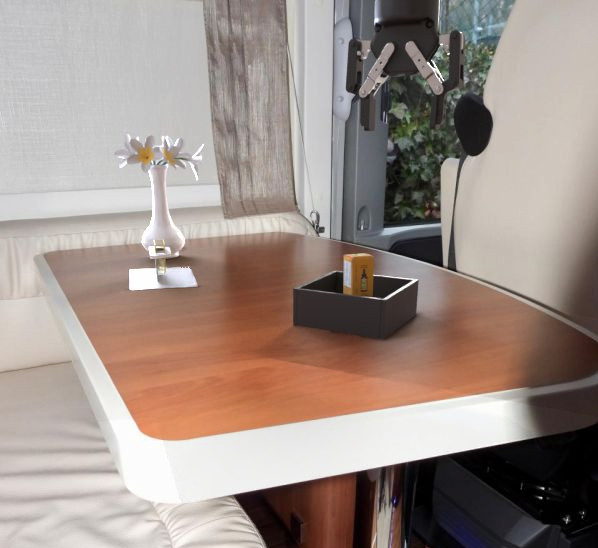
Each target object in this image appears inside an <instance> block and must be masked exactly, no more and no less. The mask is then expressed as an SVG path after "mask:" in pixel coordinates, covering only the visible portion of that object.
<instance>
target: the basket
mask: <svg viewBox="0 0 598 548" xmlns="http://www.w3.org/2000/svg"><path fill="white" fill-rule="evenodd" d="M419 281H420V280H419V279H416V278H409V277H407V278H406V277H397V276H388V275H381V274H380V275H379V274H373V297H365V296H357V295H349V294H343V289H344V286H343V283H344V270H333V271H330V272H328V273H326V274H323V275H321V276H319V277H316V278H314V279H312V280H310V281H308V282H304V283H302V284H300V285H298V286H296V287H294V288H292V326H295V327H302V328H307V329H315V330H319V331H320V330H322V331H326V332H327V331H328V332H334V333H341V334H347V335H354V336H360V337H365V338H366V337H367V338H373V339H379V340H385V339H386V338H387V337H389V336H390V335H392V334H393V333H394V332H396V331H397V330H398V329H399V328H400V327H402V326H403V325H405V324H406V323H408V321H410V320H411V319H412V318H413V317H415V316H417V307H418V297H419V296H418V295H419Z"/></svg>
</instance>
